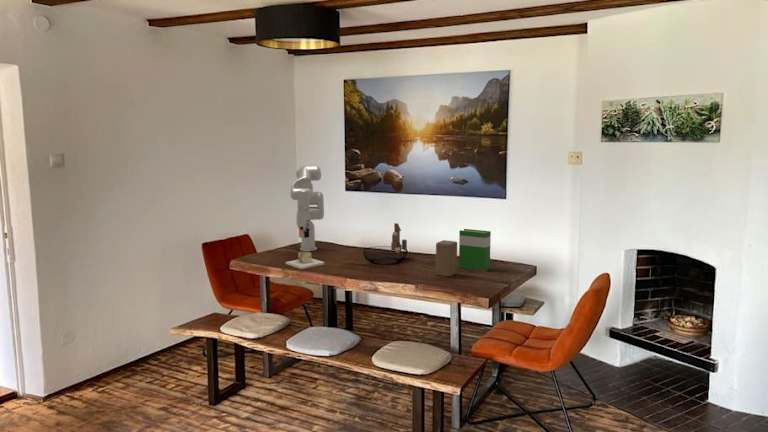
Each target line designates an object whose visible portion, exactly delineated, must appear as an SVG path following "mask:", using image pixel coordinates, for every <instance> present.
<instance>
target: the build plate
mask: <svg viewBox="0 0 768 432" xmlns="http://www.w3.org/2000/svg"><path fill="white" fill-rule="evenodd" d="M311 261H312V262H307V263H302V262H299V259H295V260H289V261H285V265H288V266H291V267H293V268H297V269H300V270H303V269H308V268H314V267H318V266H324V265H325V261H323V260H319V259H315V258H312V257H311Z"/></svg>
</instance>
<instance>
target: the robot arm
mask: <svg viewBox="0 0 768 432" xmlns="http://www.w3.org/2000/svg"><path fill="white" fill-rule="evenodd" d="M295 174H296V178H297V179H296V180H295V181H294V182H292V184H291V188H290V198H291V200H293V201H297V202H296V203H297V211H296V226H297V227H298V231H299V230H300V229H305V231H304V235H305V238H301V243H300V244H299V245H300V247H299V250H300V251H301V252H305V251H307V252H311V251H312V252H313V251H317V250H318V247H317V246H316V243H315V242H316V239H315V237H316V234H315V224H314V222H312V221H315V220H319V221H320V220H323V219H324V218H325V203H324V194H323V192H321V191H314V185H313V183H312V182H313V181H320V180H321V178H322V171H321V168H320V167H319V166H318V165H303V166H301V167H299V169H297V170H296V173H295ZM309 231H310V237H309ZM307 237H308V238H307Z"/></svg>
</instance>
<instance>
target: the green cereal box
mask: <svg viewBox="0 0 768 432" xmlns="http://www.w3.org/2000/svg"><path fill="white" fill-rule="evenodd" d="M458 233H459V236H458V237H459V241H458V242H459V243H458V244H459V245H458V246H459V249H458V253H459V254H458V268H459V267H461V268H460V269H462V268H470V269H478V270H487V269H489V268H490V269H491V241H492V240H491V231H490V230H480V229H479V230H478V229H471V228H470V229H469V228H464V229H463V230H459V232H458ZM470 269H469V270H470ZM490 269H489V270H490ZM487 271H488V270H487Z"/></svg>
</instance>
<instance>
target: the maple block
mask: <svg viewBox="0 0 768 432" xmlns="http://www.w3.org/2000/svg"><path fill="white" fill-rule="evenodd" d="M297 254H298V255H297V256H298V260H299V262H302V263H307V262H312V261H311V258H312V252H311V251H301V252H298V253H297Z"/></svg>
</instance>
